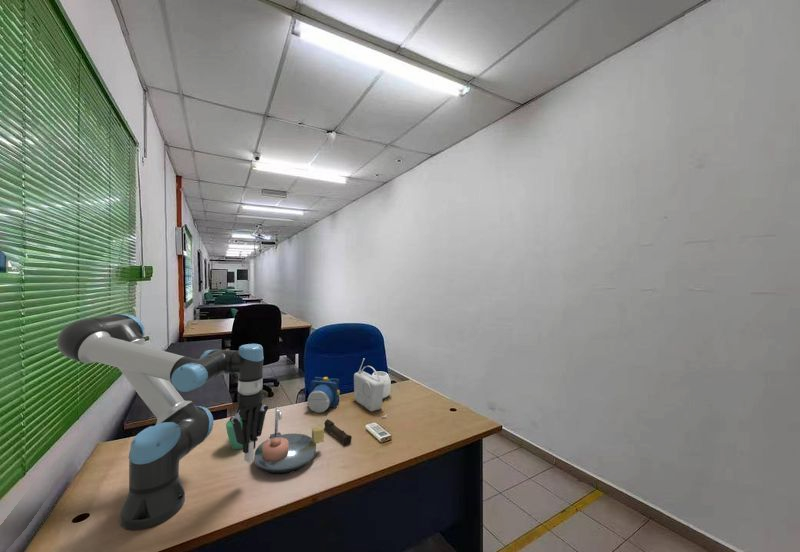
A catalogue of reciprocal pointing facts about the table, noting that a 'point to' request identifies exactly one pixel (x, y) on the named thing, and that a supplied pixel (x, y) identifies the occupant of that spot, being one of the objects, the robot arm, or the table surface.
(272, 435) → the indicator stand
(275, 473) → the turntable base
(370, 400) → the radio
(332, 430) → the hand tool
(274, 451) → the cover
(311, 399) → the valve
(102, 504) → the table surface
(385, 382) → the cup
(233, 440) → the mug
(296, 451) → the turntable
